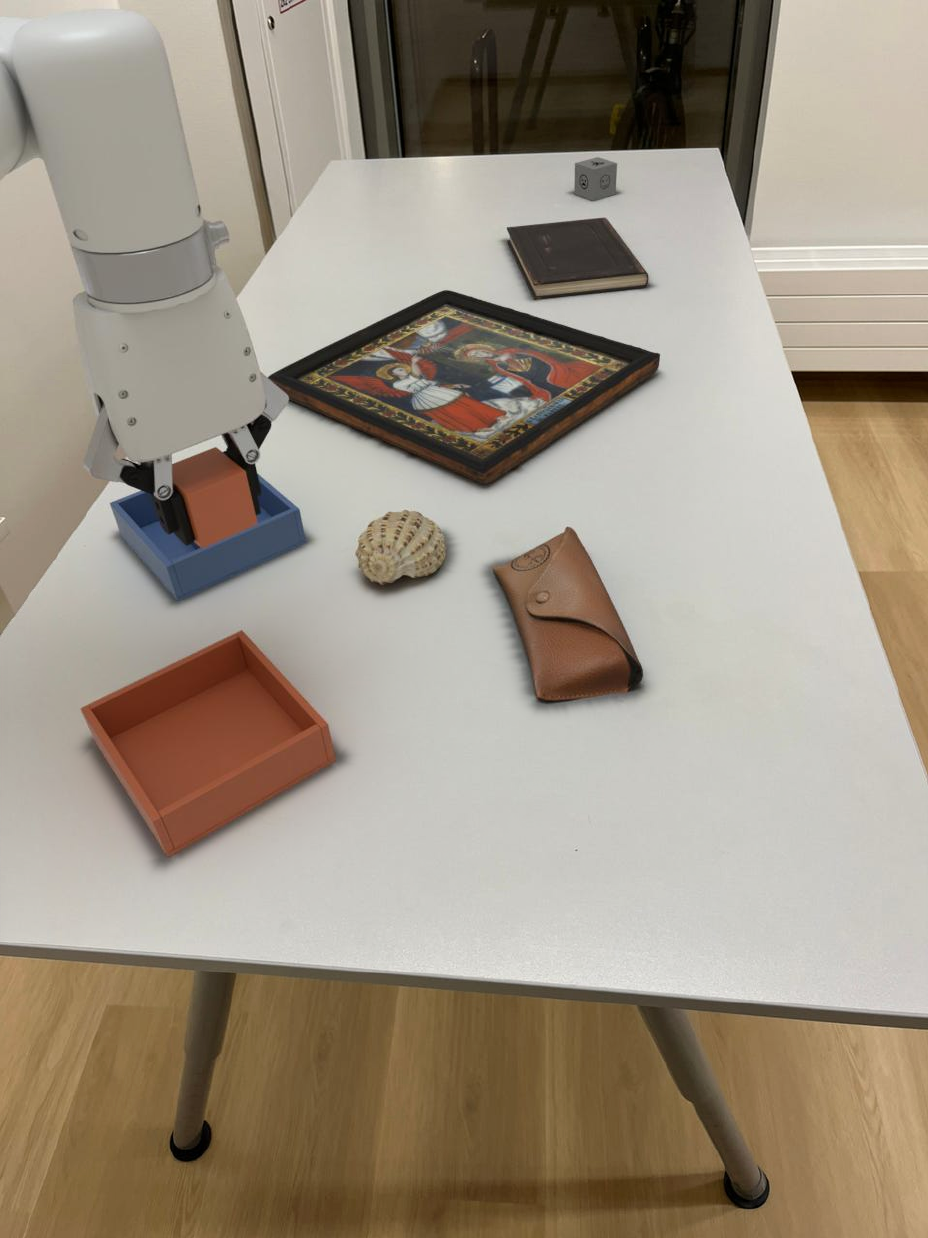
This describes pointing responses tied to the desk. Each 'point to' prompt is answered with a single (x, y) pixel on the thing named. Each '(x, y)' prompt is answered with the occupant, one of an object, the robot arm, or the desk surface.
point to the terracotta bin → (208, 739)
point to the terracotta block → (214, 496)
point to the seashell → (400, 547)
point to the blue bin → (219, 561)
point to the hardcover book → (574, 258)
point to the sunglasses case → (568, 622)
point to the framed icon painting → (466, 381)
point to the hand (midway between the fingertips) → (214, 519)
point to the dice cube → (595, 178)
